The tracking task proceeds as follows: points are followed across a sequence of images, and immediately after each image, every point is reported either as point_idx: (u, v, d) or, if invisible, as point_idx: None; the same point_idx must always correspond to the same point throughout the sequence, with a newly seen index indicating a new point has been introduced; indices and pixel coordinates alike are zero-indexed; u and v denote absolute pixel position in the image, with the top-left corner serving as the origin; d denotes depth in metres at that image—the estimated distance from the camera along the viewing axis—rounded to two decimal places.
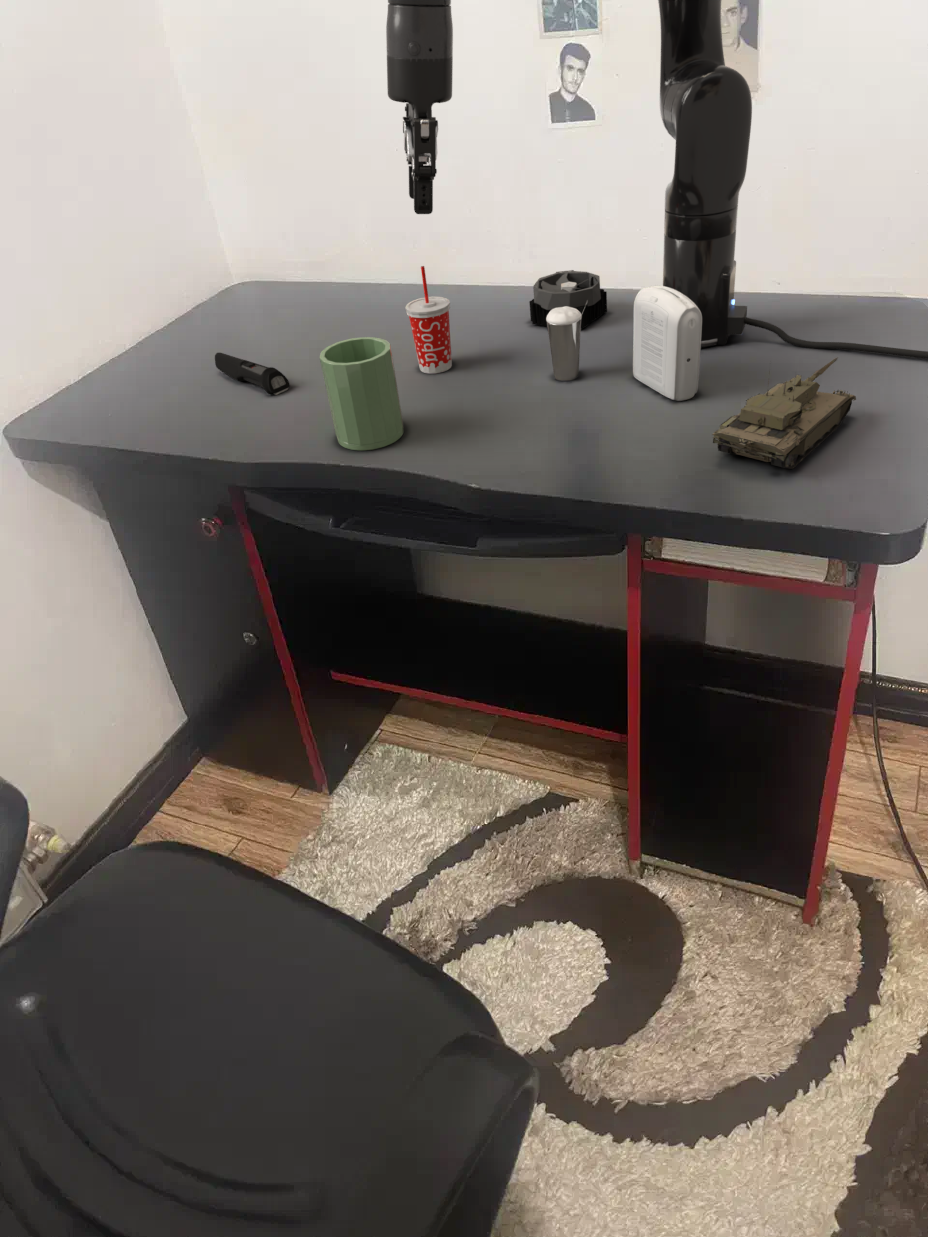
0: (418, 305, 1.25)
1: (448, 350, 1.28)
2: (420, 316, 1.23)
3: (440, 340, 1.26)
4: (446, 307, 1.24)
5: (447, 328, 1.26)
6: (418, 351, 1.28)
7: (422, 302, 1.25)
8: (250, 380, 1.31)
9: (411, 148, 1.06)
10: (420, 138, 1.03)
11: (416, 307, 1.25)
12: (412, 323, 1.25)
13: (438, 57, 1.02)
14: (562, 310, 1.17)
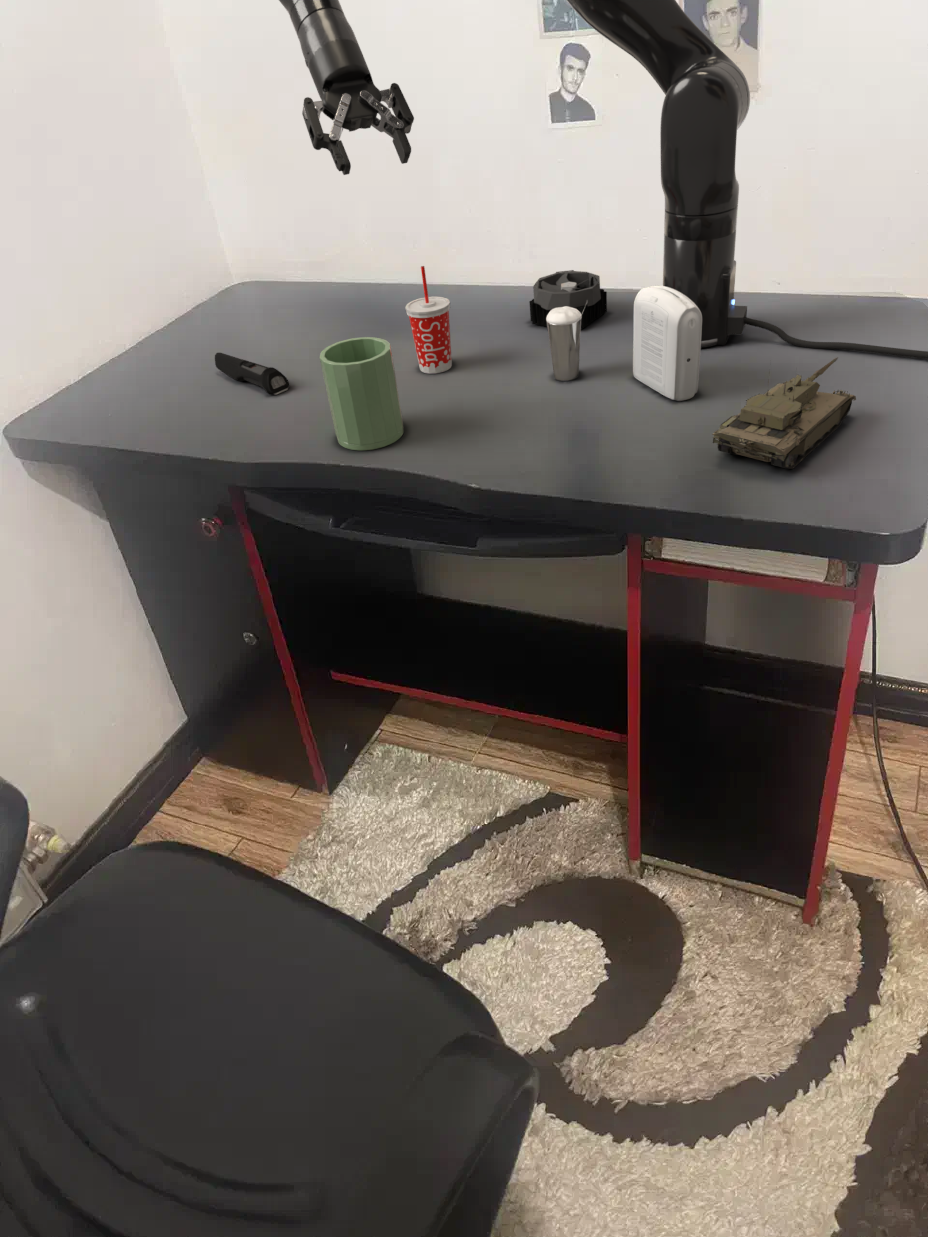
0: (418, 305, 1.25)
1: (448, 350, 1.28)
2: (420, 316, 1.23)
3: (440, 340, 1.26)
4: (446, 307, 1.24)
5: (447, 328, 1.26)
6: (418, 351, 1.28)
7: (422, 302, 1.25)
8: (250, 380, 1.31)
9: None
10: (306, 120, 1.22)
11: (416, 307, 1.25)
12: (412, 323, 1.25)
13: (313, 52, 1.21)
14: (562, 310, 1.17)
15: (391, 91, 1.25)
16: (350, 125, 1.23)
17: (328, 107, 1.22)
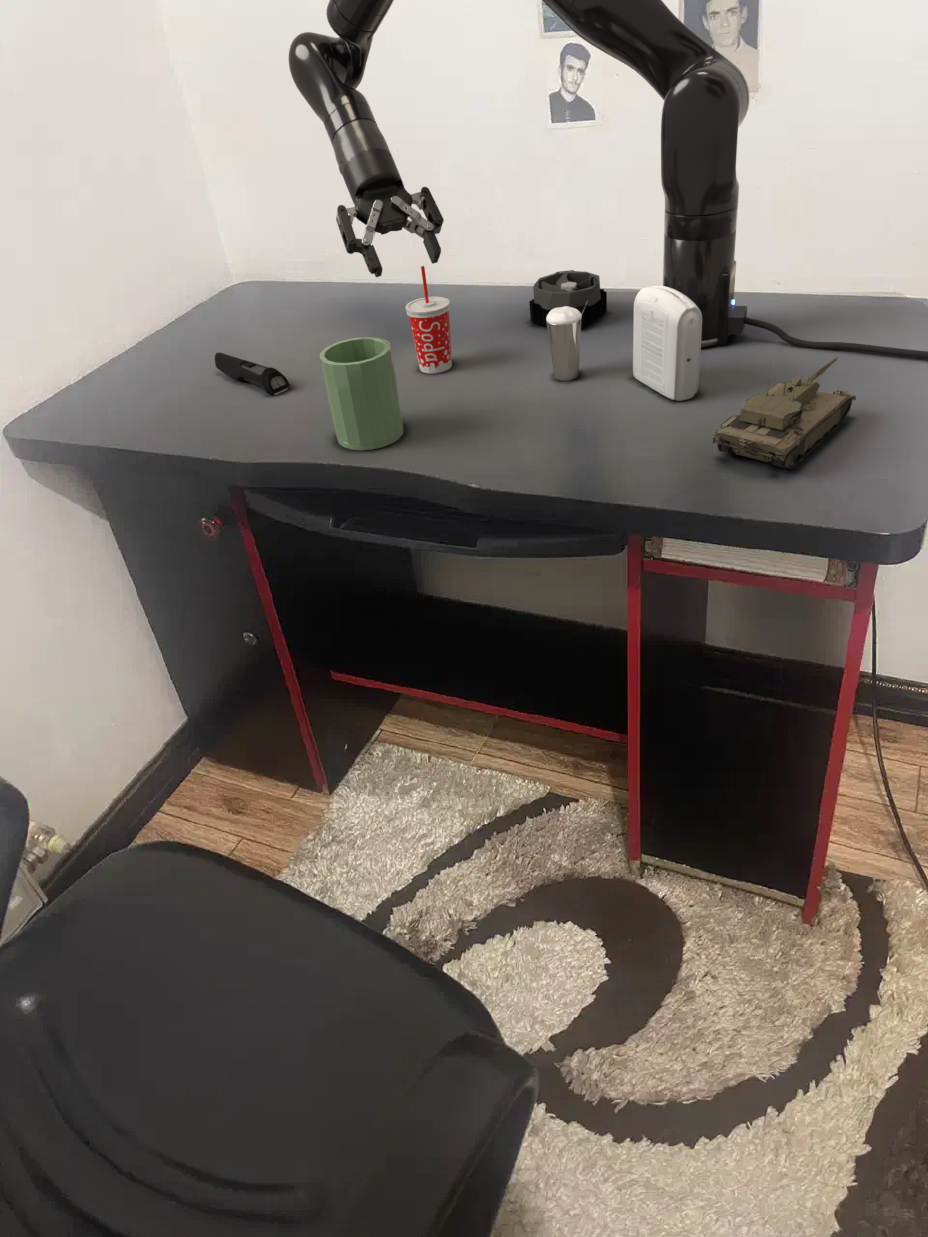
0: (418, 305, 1.25)
1: (448, 350, 1.28)
2: (420, 316, 1.23)
3: (440, 340, 1.26)
4: (446, 307, 1.24)
5: (447, 328, 1.26)
6: (418, 351, 1.28)
7: (422, 302, 1.25)
8: (250, 380, 1.31)
9: None
10: (339, 225, 1.27)
11: (416, 307, 1.25)
12: (412, 323, 1.25)
13: (346, 162, 1.26)
14: (562, 310, 1.17)
15: (421, 194, 1.29)
16: (382, 229, 1.27)
17: (361, 213, 1.26)
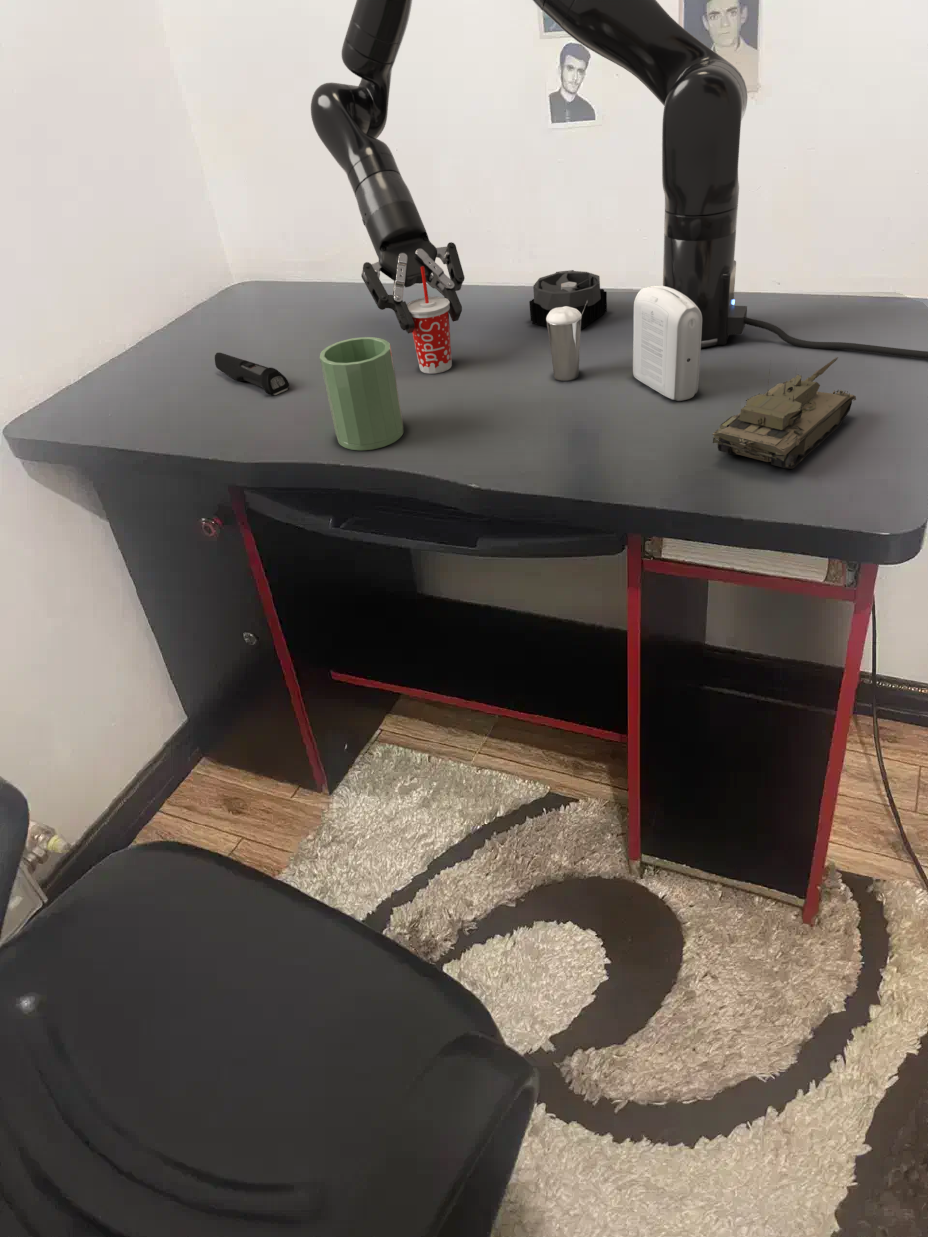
0: (418, 305, 1.25)
1: (448, 350, 1.28)
2: (420, 316, 1.23)
3: (440, 340, 1.26)
4: (446, 307, 1.24)
5: (447, 328, 1.26)
6: (418, 351, 1.28)
7: (422, 302, 1.25)
8: (250, 380, 1.31)
9: None
10: (367, 283, 1.25)
11: (416, 308, 1.25)
12: None
13: (370, 214, 1.24)
14: (562, 310, 1.17)
15: (447, 249, 1.27)
16: (406, 282, 1.25)
17: (385, 266, 1.24)
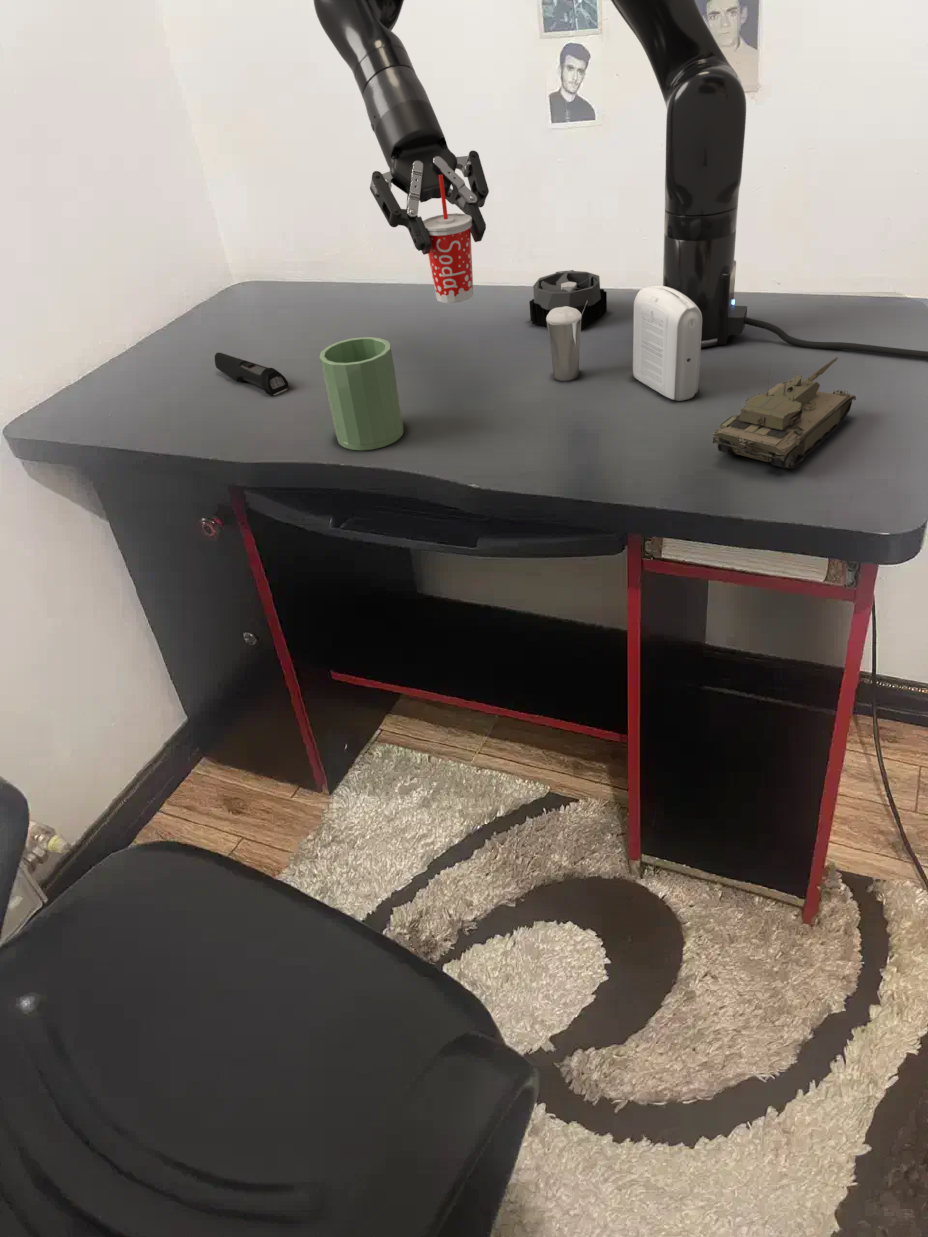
0: (436, 222, 1.09)
1: (469, 276, 1.11)
2: (438, 233, 1.06)
3: (460, 262, 1.09)
4: (468, 223, 1.07)
5: (469, 249, 1.09)
6: (435, 277, 1.11)
7: (440, 218, 1.08)
8: (249, 380, 1.31)
9: None
10: (376, 196, 1.08)
11: (433, 224, 1.08)
12: None
13: (380, 116, 1.07)
14: (562, 310, 1.17)
15: (469, 159, 1.10)
16: (422, 196, 1.09)
17: (397, 177, 1.07)
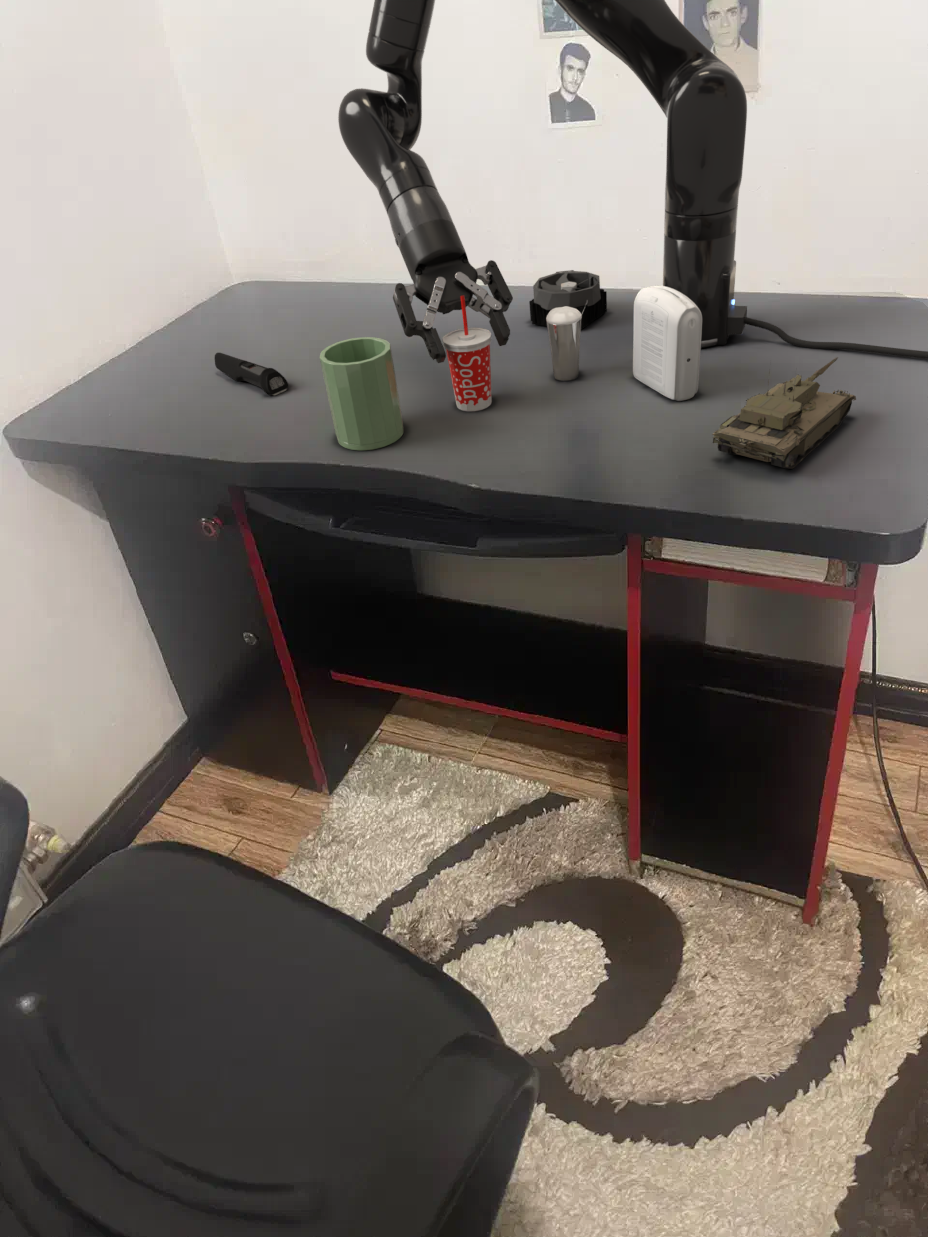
0: (457, 337, 1.14)
1: (488, 386, 1.16)
2: (459, 350, 1.12)
3: (480, 375, 1.14)
4: (488, 340, 1.12)
5: (488, 362, 1.15)
6: (455, 387, 1.16)
7: (461, 334, 1.14)
8: (249, 380, 1.31)
9: (425, 313, 1.14)
10: (397, 305, 1.13)
11: (454, 340, 1.13)
12: (450, 357, 1.14)
13: (405, 234, 1.12)
14: (562, 310, 1.17)
15: (488, 269, 1.15)
16: (444, 309, 1.14)
17: (421, 292, 1.13)
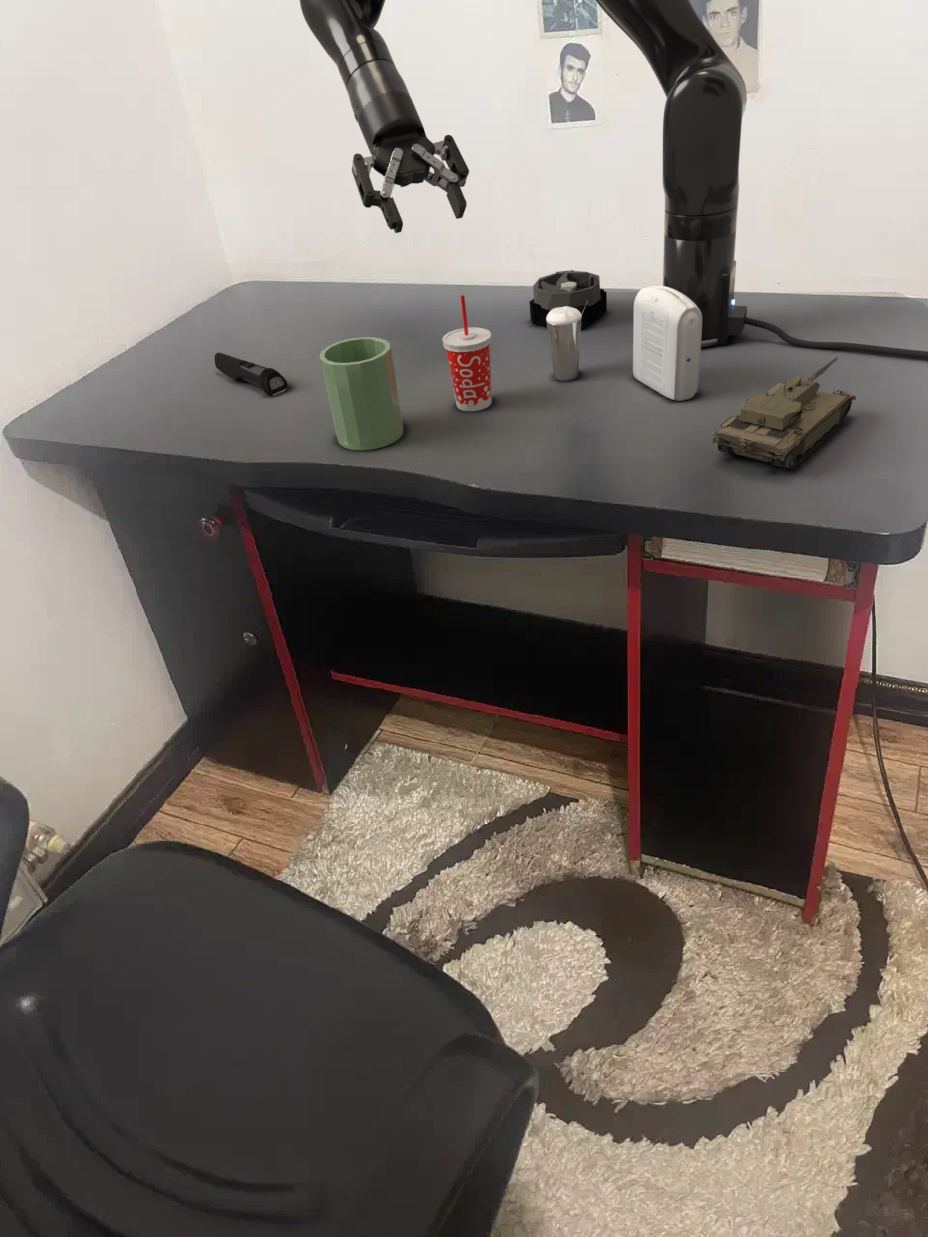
0: (457, 337, 1.14)
1: (488, 386, 1.16)
2: (459, 350, 1.12)
3: (480, 375, 1.14)
4: (487, 340, 1.12)
5: (488, 362, 1.15)
6: (455, 387, 1.16)
7: (461, 334, 1.14)
8: (249, 380, 1.31)
9: None
10: (356, 176, 1.16)
11: (454, 340, 1.13)
12: (450, 357, 1.14)
13: (363, 106, 1.15)
14: (562, 310, 1.17)
15: (445, 143, 1.18)
16: (402, 181, 1.16)
17: (379, 163, 1.15)
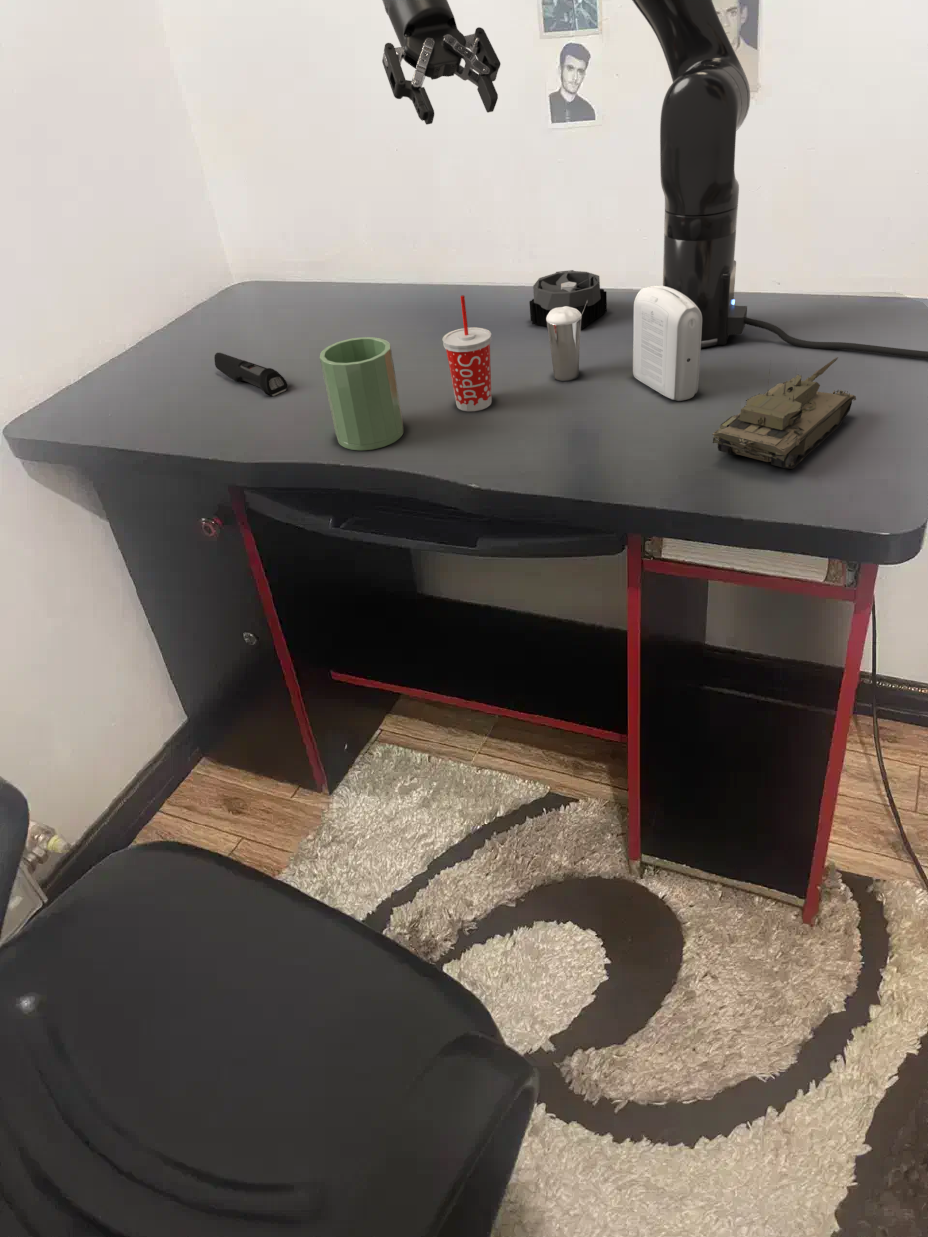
0: (457, 337, 1.14)
1: (488, 386, 1.16)
2: (459, 350, 1.12)
3: (480, 375, 1.14)
4: (488, 340, 1.12)
5: (488, 362, 1.15)
6: (455, 387, 1.16)
7: (461, 334, 1.14)
8: (248, 381, 1.31)
9: None
10: (386, 67, 1.15)
11: (454, 340, 1.13)
12: (450, 357, 1.14)
13: None
14: (562, 310, 1.17)
15: (476, 36, 1.17)
16: (433, 72, 1.15)
17: (410, 53, 1.14)
